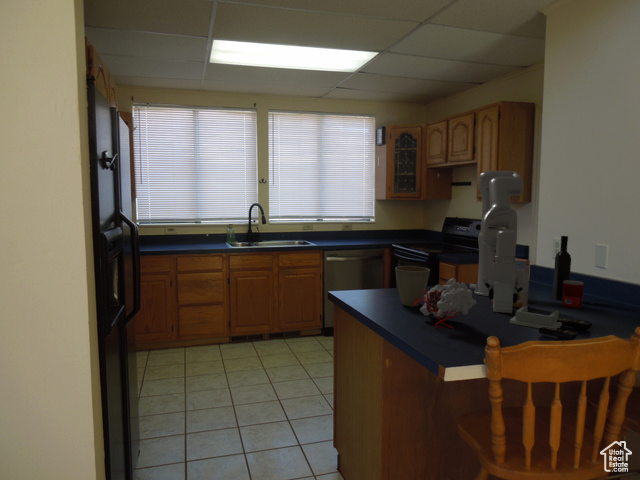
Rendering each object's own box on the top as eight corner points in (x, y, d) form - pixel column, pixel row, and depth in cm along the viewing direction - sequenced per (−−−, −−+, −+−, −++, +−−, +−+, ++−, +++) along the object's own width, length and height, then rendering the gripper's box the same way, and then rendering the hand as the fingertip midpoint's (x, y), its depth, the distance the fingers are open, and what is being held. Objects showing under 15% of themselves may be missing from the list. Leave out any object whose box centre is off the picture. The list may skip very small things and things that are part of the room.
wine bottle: (564, 297, 220) (568, 235, 218) (569, 300, 215) (573, 236, 212) (551, 297, 221) (555, 235, 218) (556, 300, 215) (560, 236, 213)
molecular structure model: (416, 345, 169) (465, 320, 151) (395, 299, 175) (440, 270, 157) (450, 334, 181) (499, 309, 163) (429, 291, 187) (474, 263, 169)
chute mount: (509, 323, 174) (510, 310, 173) (519, 315, 185) (520, 304, 184) (555, 331, 164) (556, 318, 164) (563, 323, 175) (564, 311, 175)
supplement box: (511, 309, 195) (512, 280, 194) (512, 313, 188) (514, 283, 187) (492, 307, 198) (494, 278, 196) (493, 311, 191) (494, 281, 189)
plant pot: (401, 309, 192) (402, 271, 191) (389, 301, 207) (390, 266, 205) (434, 308, 195) (436, 271, 194) (420, 300, 210) (421, 265, 208)
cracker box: (527, 306, 201) (530, 259, 199) (522, 309, 197) (525, 260, 195) (496, 301, 211) (498, 256, 209) (490, 303, 206) (493, 257, 204)
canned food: (584, 308, 199) (586, 283, 198) (564, 307, 201) (566, 282, 199) (578, 304, 206) (580, 280, 205) (559, 303, 208) (560, 279, 207)
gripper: (481, 258, 193) (479, 299, 195) (524, 263, 183) (522, 305, 184) (487, 257, 199) (485, 296, 201) (529, 261, 188) (527, 302, 190)
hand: (502, 300), depth 192 cm, fingers closed on supplement box, 9 cm apart
